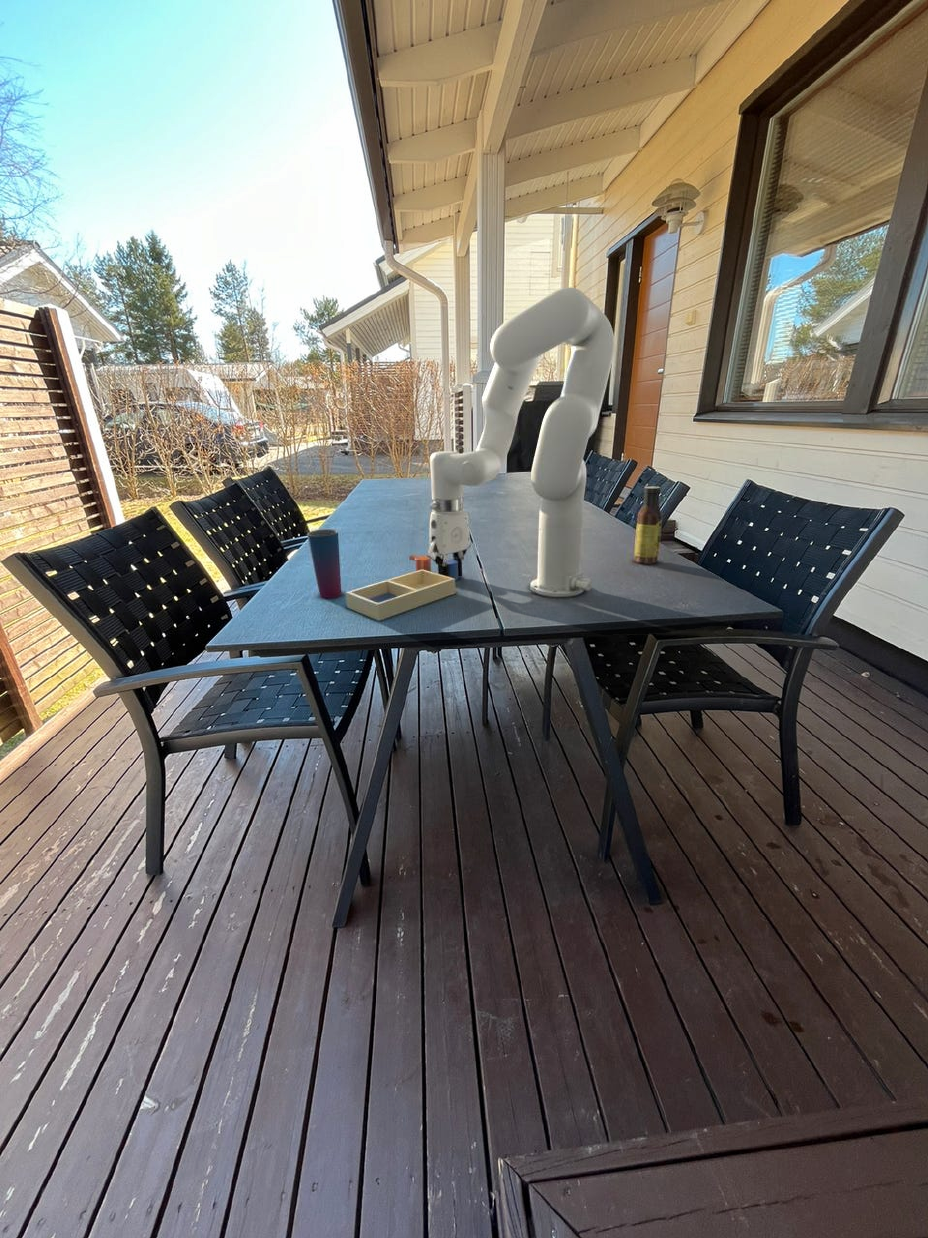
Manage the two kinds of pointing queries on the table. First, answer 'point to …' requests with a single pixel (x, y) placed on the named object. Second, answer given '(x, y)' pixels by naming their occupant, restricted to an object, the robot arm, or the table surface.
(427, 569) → the orange scoop
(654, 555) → the sauce bottle
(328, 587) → the cup
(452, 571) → the blue scoop
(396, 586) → the sorter
